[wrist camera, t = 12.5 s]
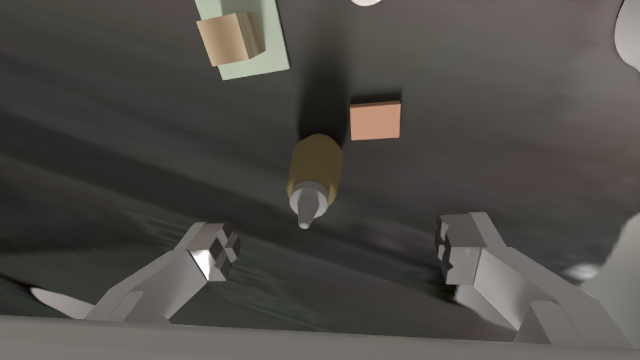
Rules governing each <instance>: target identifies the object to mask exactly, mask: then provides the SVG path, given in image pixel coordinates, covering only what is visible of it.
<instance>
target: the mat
mask: <svg viewBox="0 0 640 360" xmlns="http://www.w3.org/2000/svg"><path fill="white" fill-rule="evenodd" d="M195 2H196V5H197V8H198V11H199V13H200V16H201V19H202V20H206V19H210V18H215V17H220V16H224V15H229V14H234V13H246V12H256V15H257V19H258V23H259V27H260V31H261V35H262V39H263V42H264V46H265V50H266V51H265V52H263V53H261V54H259V55H257V56H255V57H253V58H252V59H250V60H245V61H240V62H234V63H229V64H223V65H218V68H219V70H220V73H221V76H222V79H223V80H227V79H233V78H239V77H245V76H250V75H256V74H262V73H268V72H274V71H280V70H286V69H290V64H289V60H288V55H287V50H286V46H285V41H284V36H283V32H282V27H281V23H280V18H279V13H278V9H277V4H276V0H195Z"/></svg>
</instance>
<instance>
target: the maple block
mask: <svg viewBox="0 0 640 360" xmlns="http://www.w3.org/2000/svg"><path fill="white" fill-rule="evenodd" d="M196 22H197V25H198V28H199V30H200V33H201V36H202V39H203V41H204V44H205V47H206V50H207V53H208V55H209V58H210V61H211V64H212V66H218V65H223V64H229V63H234V62H240V61H245V60H250V59H252V58H253V57H255V56H257V55H259V54H261V53H263V52H265V51H266V50H265V46H264V42H263V39H262V35H261V31H260V27H259V23H258V19H257V15H256V12H246V13H234V14H229V15H224V16H220V17H215V18H210V19H206V20H201V21H196Z"/></svg>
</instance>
